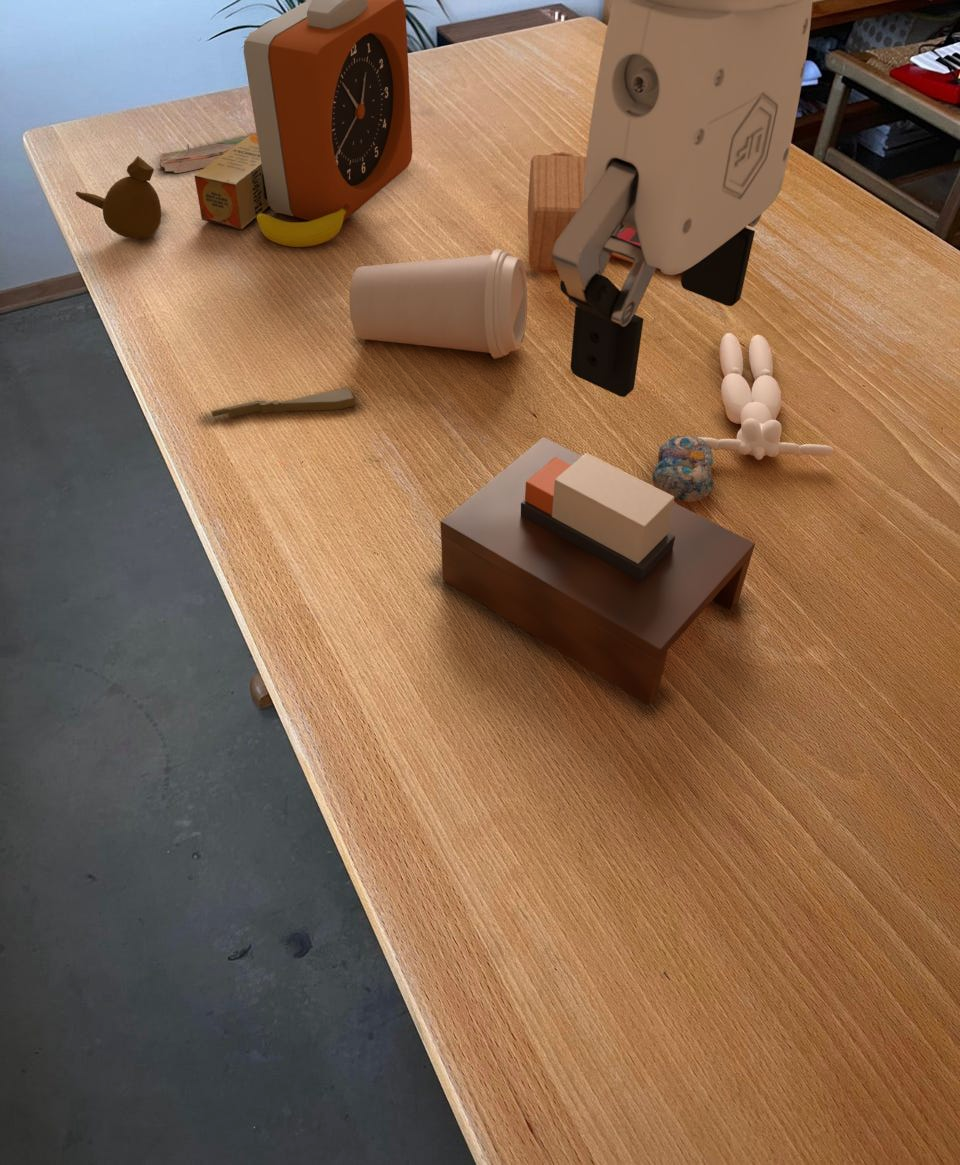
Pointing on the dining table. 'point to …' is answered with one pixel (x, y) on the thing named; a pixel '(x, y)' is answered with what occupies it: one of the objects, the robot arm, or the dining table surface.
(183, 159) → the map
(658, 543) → the tricolour layered block
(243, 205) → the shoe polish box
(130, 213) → the figurine
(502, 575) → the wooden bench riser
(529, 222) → the decorative item
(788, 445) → the decorative figure
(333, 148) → the alarm clock
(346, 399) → the olive tapered flat bar
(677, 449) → the decorative stone
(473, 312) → the coffee cup
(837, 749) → the dining table surface
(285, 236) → the fruit
